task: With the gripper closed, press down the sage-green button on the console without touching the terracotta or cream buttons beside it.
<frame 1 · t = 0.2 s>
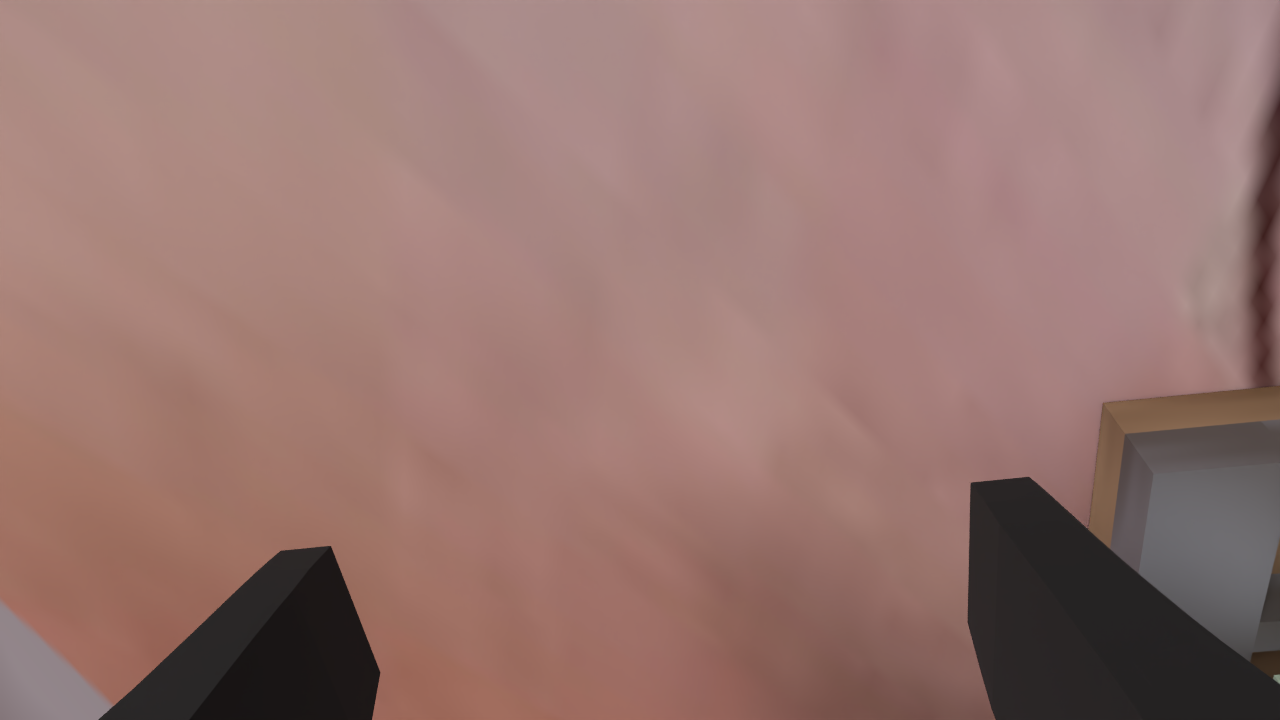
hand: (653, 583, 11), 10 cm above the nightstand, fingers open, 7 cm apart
console: (1262, 619, 24), on the nightstand
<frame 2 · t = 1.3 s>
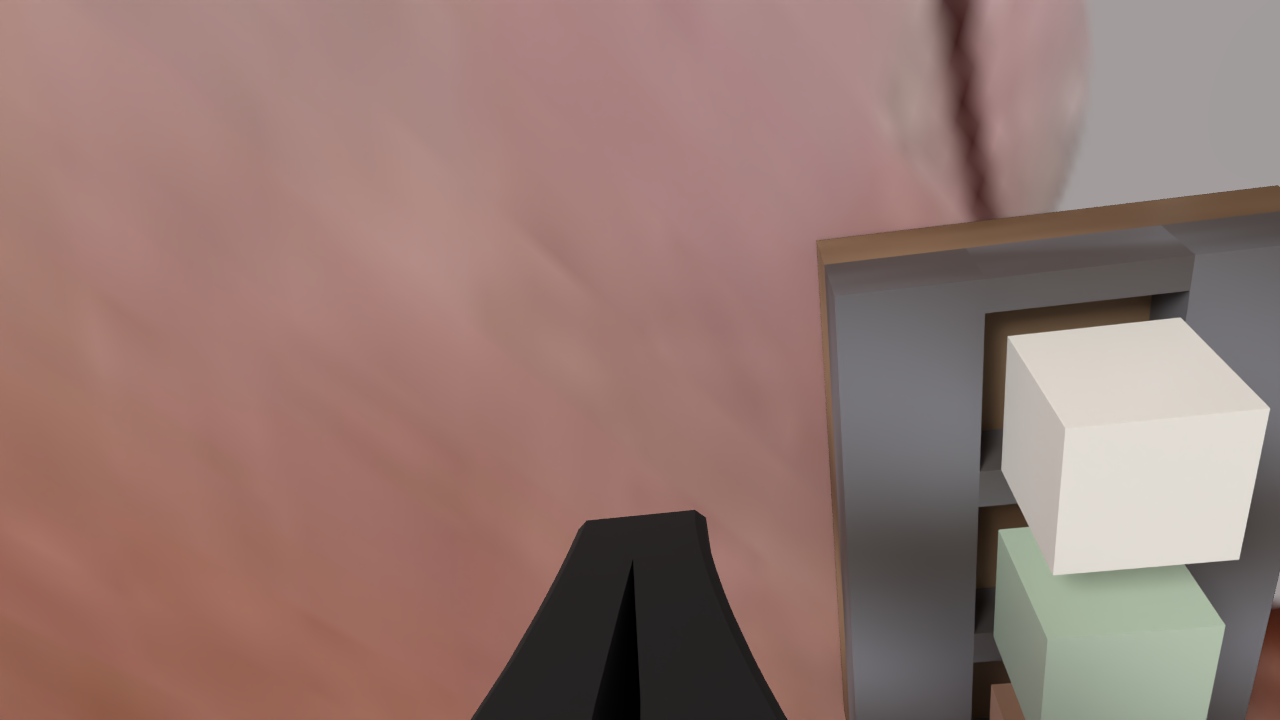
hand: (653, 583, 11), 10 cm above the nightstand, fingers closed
button sage: (1096, 631, 19), point 4 cm above the nightstand, slide at 0.0 cm
button cream: (1118, 443, 17), point 4 cm above the nightstand, slide at 0.0 cm
console: (1024, 491, 23), on the nightstand
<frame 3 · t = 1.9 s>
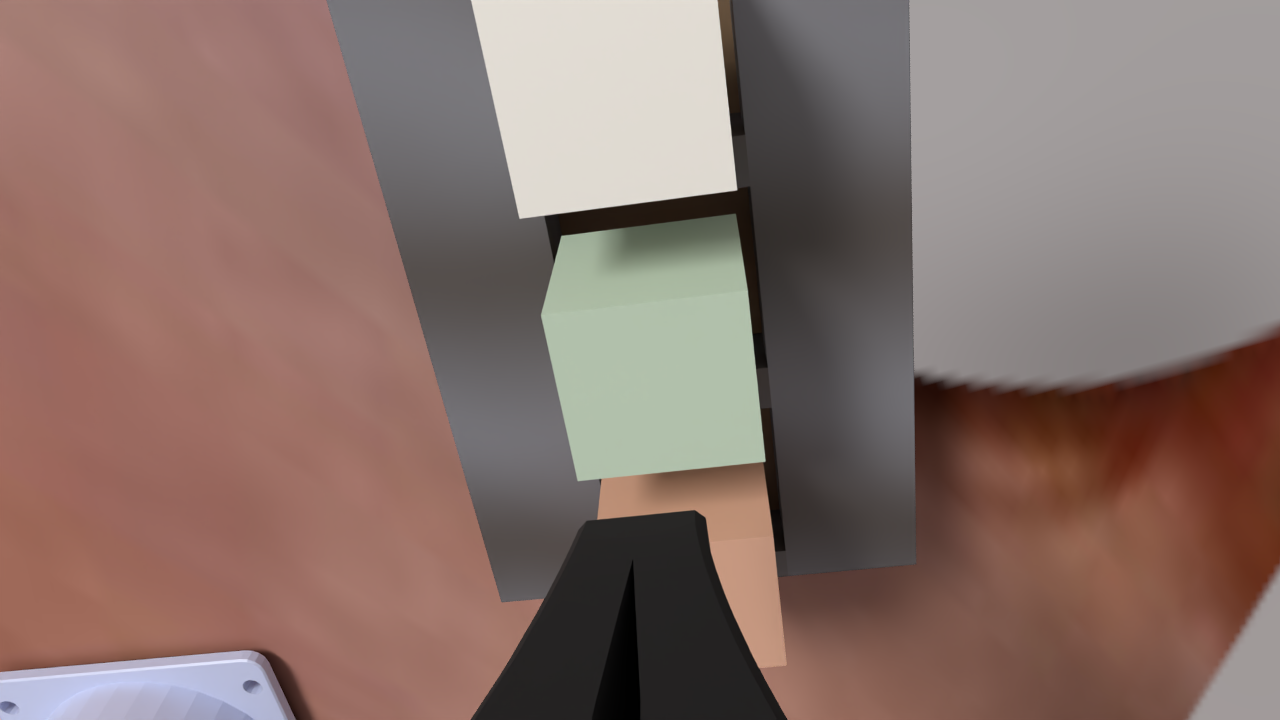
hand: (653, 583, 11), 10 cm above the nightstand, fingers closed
button terracotta: (692, 553, 18), point 4 cm above the nightstand, slide at 0.0 cm
button sage: (658, 343, 16), point 5 cm above the nightstand, slide at 0.0 cm
button cream: (615, 67, 14), point 4 cm above the nightstand, slide at 0.0 cm
console: (661, 238, 20), on the nightstand
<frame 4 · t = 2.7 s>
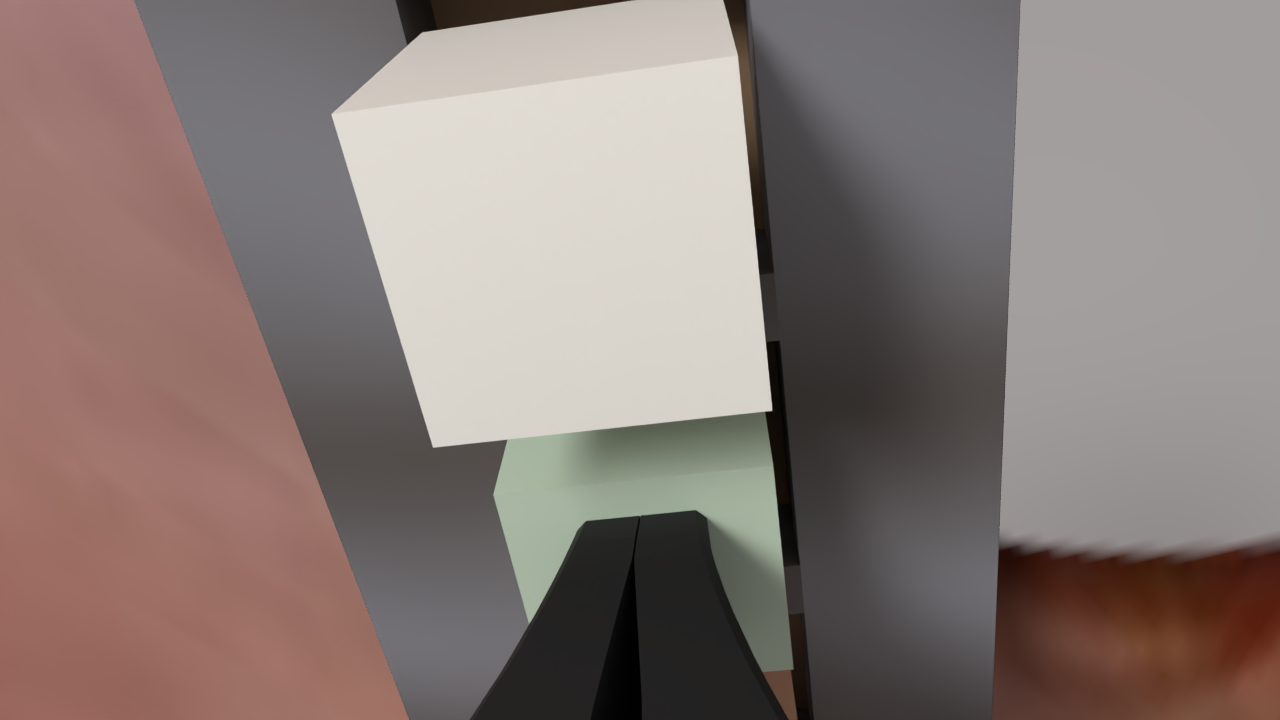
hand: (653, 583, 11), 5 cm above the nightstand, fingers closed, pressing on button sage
button sage: (653, 504, 12), point 3 cm above the nightstand, slide at 1.3 cm, touching gripper
button cream: (583, 206, 9), point 5 cm above the nightstand, slide at 0.0 cm
console: (656, 375, 15), on the nightstand
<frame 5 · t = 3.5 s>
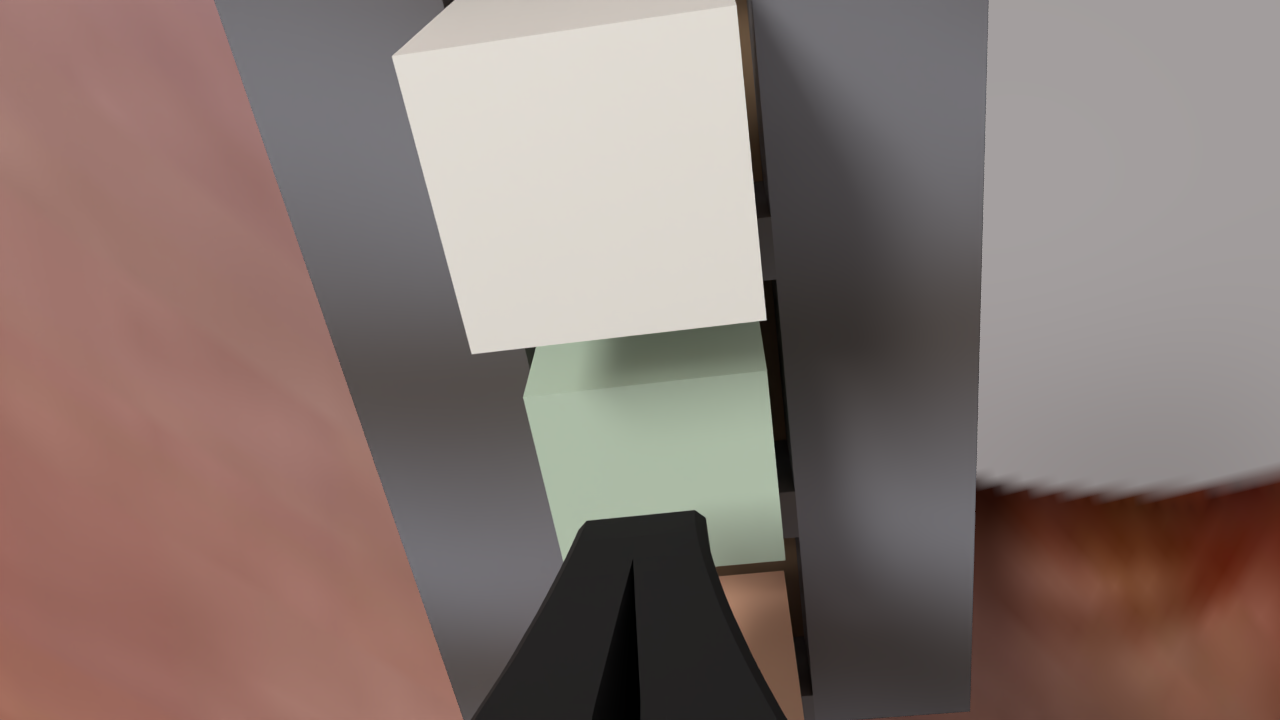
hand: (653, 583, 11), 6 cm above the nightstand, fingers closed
button sage: (661, 418, 14), point 3 cm above the nightstand, slide at 1.6 cm
button cream: (602, 146, 10), point 4 cm above the nightstand, slide at 0.0 cm
console: (664, 322, 16), on the nightstand
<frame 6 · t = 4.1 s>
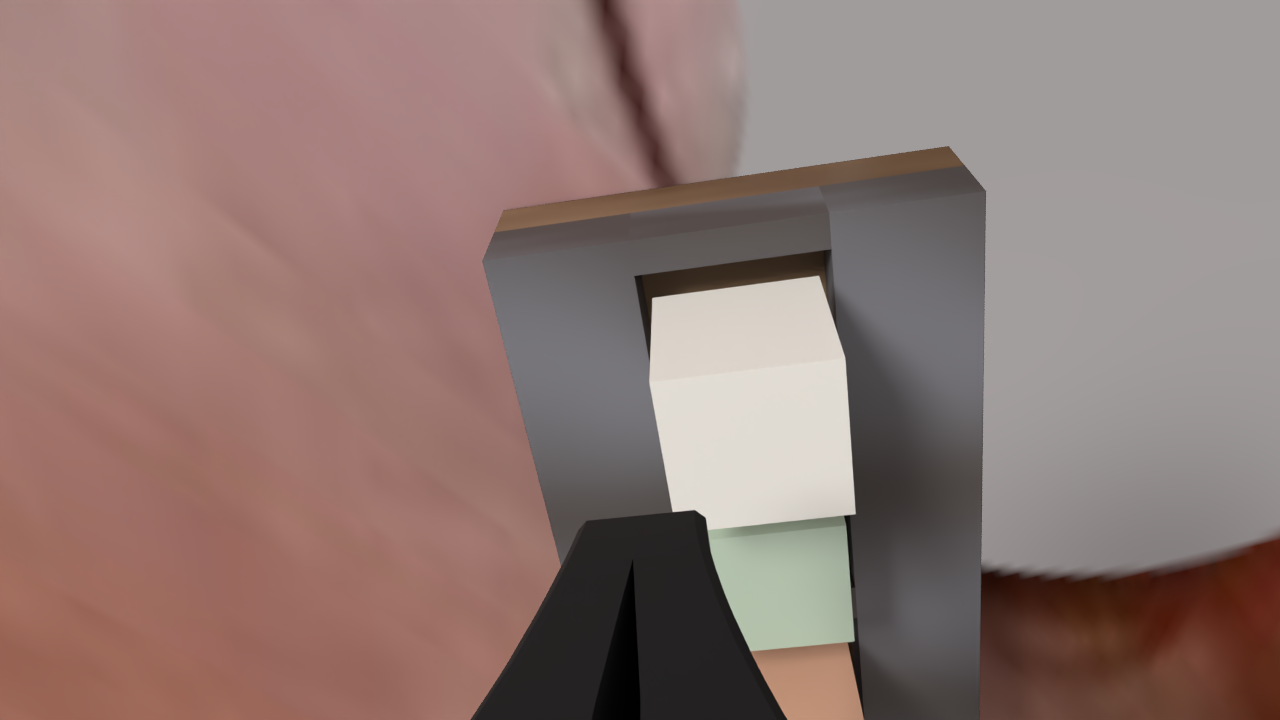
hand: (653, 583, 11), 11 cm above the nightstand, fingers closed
button sage: (766, 543, 20), point 3 cm above the nightstand, slide at 1.6 cm
button cream: (749, 401, 17), point 5 cm above the nightstand, slide at 0.0 cm
console: (756, 461, 23), on the nightstand
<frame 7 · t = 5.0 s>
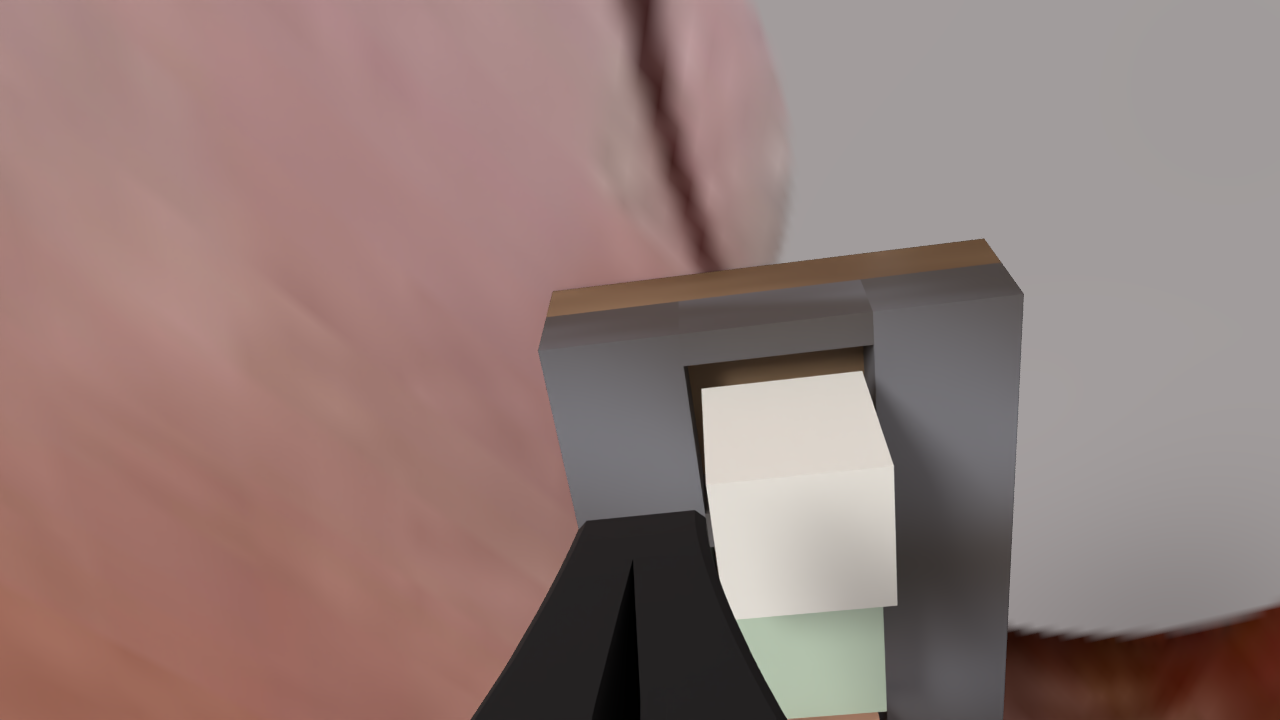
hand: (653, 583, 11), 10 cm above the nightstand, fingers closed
button sage: (802, 613, 21), point 3 cm above the nightstand, slide at 1.6 cm
button cream: (795, 492, 18), point 5 cm above the nightstand, slide at 0.0 cm
console: (788, 526, 24), on the nightstand
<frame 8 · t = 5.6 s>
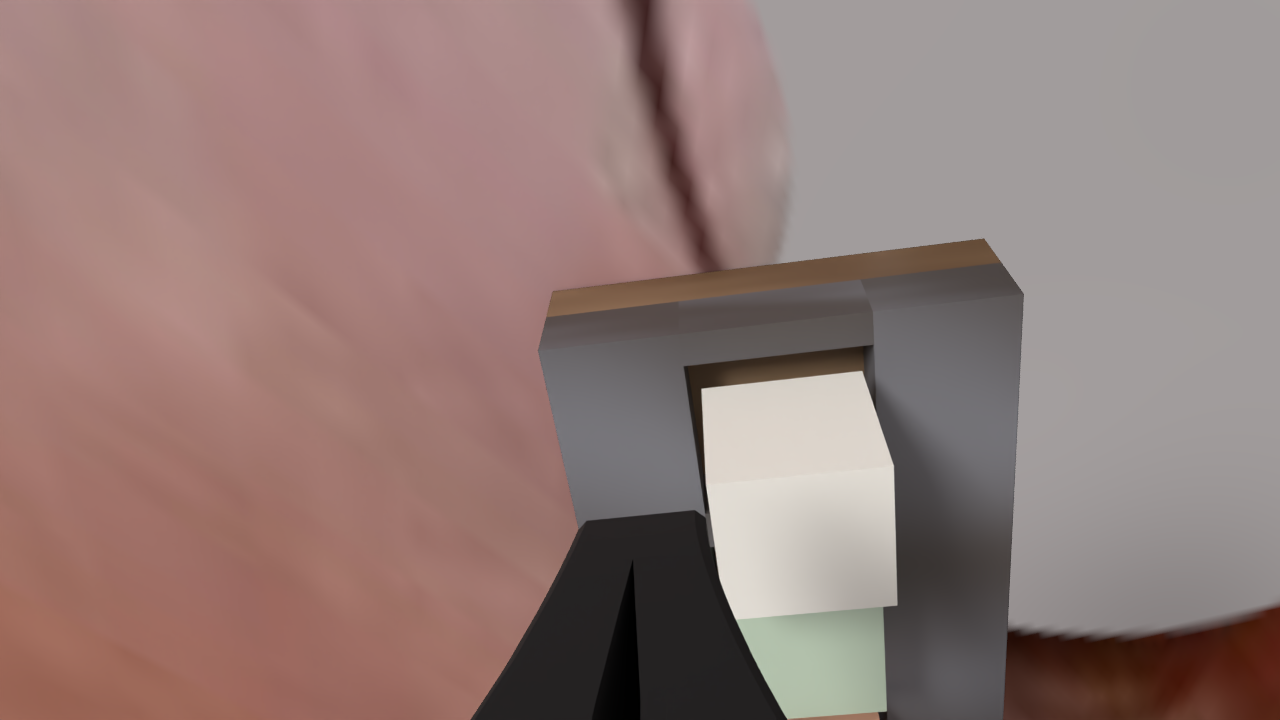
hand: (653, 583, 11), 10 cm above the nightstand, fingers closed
button sage: (802, 613, 21), point 3 cm above the nightstand, slide at 1.6 cm
button cream: (795, 492, 18), point 5 cm above the nightstand, slide at 0.0 cm
console: (788, 526, 24), on the nightstand
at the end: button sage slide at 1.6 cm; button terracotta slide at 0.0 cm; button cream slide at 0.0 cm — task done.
